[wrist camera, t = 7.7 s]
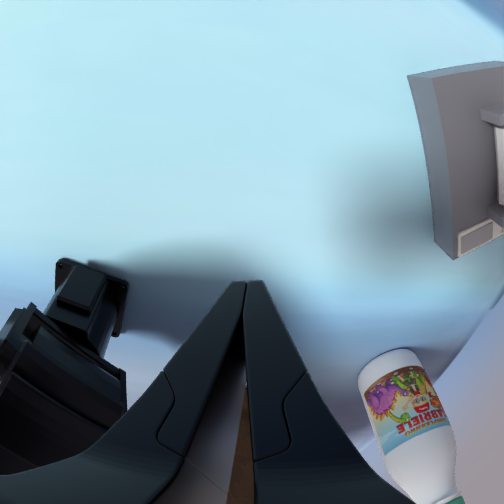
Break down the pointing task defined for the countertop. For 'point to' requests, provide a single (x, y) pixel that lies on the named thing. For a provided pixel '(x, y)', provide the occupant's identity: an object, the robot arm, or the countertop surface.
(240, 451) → the wooden container
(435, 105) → the switch unit
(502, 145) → the lever
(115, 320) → the robot arm
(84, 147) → the countertop surface
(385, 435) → the milk bottle
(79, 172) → the countertop surface
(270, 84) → the countertop surface
